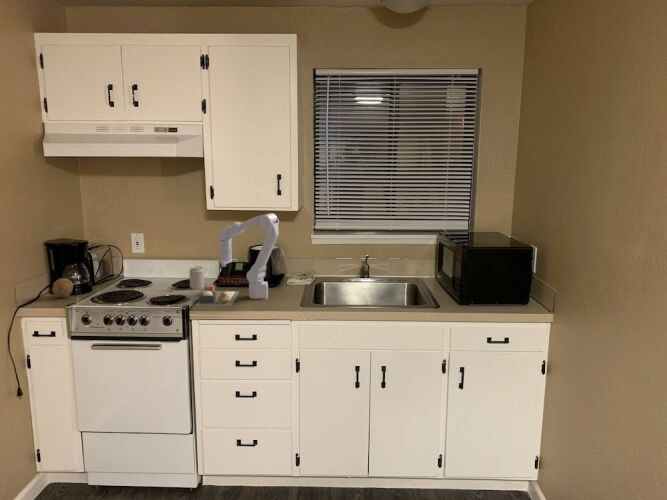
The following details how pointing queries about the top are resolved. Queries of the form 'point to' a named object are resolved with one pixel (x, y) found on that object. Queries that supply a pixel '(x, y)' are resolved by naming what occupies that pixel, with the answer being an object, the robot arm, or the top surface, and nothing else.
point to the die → (209, 288)
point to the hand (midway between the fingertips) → (226, 277)
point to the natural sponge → (62, 287)
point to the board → (216, 299)
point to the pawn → (223, 298)
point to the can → (196, 277)
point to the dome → (207, 293)
